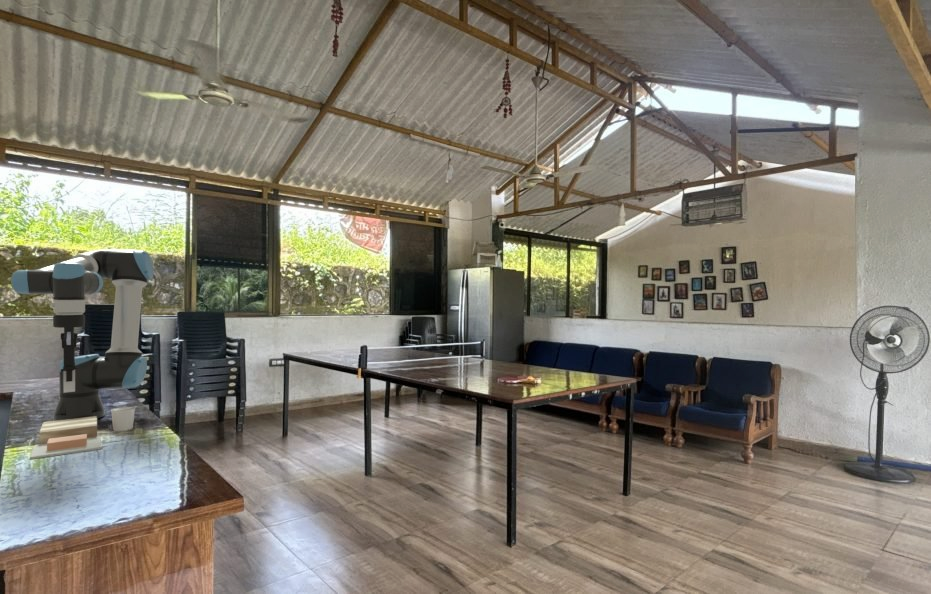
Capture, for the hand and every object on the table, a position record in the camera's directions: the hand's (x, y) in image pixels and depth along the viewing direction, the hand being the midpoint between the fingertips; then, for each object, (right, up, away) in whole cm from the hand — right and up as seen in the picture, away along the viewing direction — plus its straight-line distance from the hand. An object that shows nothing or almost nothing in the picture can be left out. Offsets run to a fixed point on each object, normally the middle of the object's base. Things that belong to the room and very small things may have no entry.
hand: (69, 391), depth 150 cm
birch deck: (-8, -16, +10) cm, 21 cm away
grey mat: (+2, -16, -3) cm, 17 cm away
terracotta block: (+2, -13, -3) cm, 14 cm away
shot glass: (+3, -17, +19) cm, 26 cm away
